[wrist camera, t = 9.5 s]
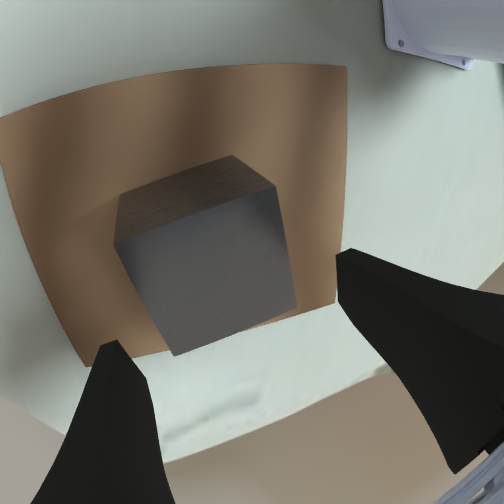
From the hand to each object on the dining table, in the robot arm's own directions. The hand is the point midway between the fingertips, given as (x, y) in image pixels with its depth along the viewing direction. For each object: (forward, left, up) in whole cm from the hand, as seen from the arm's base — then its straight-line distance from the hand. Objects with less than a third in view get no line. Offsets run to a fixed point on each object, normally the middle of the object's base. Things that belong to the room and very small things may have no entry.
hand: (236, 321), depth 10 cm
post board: (0, 0, -8) cm, 8 cm away
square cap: (0, 0, -7) cm, 7 cm away
